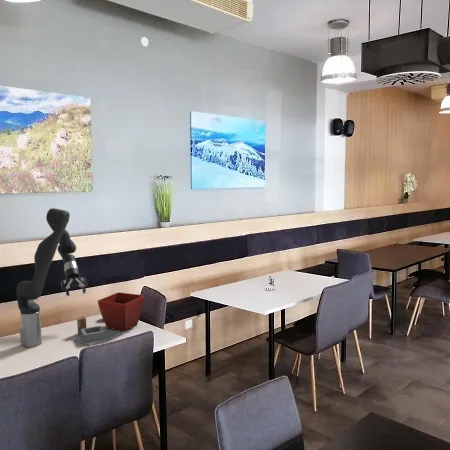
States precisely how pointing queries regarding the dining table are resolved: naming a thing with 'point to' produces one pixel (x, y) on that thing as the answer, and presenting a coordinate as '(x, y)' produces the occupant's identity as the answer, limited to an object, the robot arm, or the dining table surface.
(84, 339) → the well board
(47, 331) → the dining table surface
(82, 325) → the walnut post
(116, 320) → the plant pot
